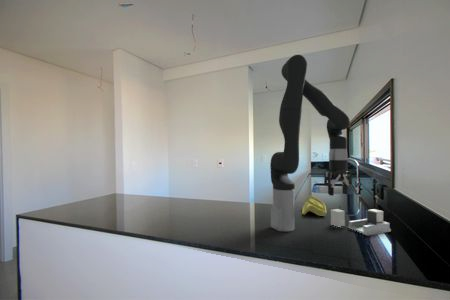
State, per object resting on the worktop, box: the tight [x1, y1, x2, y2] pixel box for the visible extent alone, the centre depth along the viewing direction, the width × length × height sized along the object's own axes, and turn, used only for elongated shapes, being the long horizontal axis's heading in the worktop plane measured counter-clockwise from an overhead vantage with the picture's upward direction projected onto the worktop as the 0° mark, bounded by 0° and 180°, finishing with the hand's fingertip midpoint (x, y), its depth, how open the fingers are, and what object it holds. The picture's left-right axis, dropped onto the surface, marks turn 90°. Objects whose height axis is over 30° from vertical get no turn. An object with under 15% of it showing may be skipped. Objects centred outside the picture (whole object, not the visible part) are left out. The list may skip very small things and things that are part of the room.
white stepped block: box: [347, 208, 392, 236], centre depth 98 cm, size 14×9×8 cm, turn 112°
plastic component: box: [301, 195, 327, 217], centre depth 128 cm, size 20×7×10 cm
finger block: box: [330, 208, 346, 228], centre depth 104 cm, size 5×4×7 cm
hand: (338, 194), depth 104 cm, fingers open, 8 cm apart
